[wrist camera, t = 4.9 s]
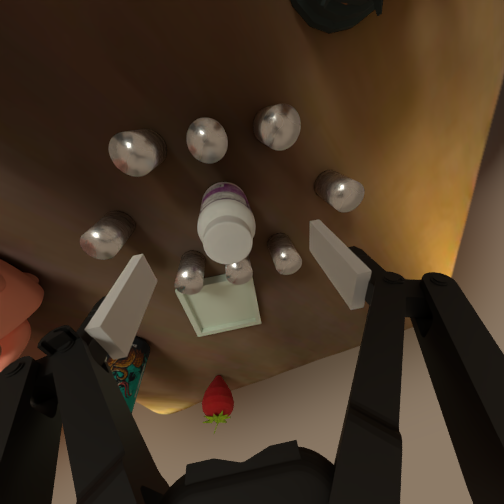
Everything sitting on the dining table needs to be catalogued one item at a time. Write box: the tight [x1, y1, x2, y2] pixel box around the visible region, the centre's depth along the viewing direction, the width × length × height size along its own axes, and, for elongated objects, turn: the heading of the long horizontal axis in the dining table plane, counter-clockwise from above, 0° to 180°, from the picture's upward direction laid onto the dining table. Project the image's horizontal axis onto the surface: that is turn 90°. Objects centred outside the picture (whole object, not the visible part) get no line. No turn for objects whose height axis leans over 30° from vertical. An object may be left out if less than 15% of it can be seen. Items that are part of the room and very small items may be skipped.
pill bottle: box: [197, 182, 256, 264], centre depth 20 cm, size 5×5×10 cm
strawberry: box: [202, 375, 234, 433], centre depth 42 cm, size 6×8×10 cm
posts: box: [80, 104, 364, 295], centre depth 22 cm, size 28×17×5 cm, turn 99°
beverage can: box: [105, 336, 150, 414], centre depth 31 cm, size 7×7×12 cm
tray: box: [175, 274, 261, 337], centre depth 32 cm, size 11×11×2 cm
